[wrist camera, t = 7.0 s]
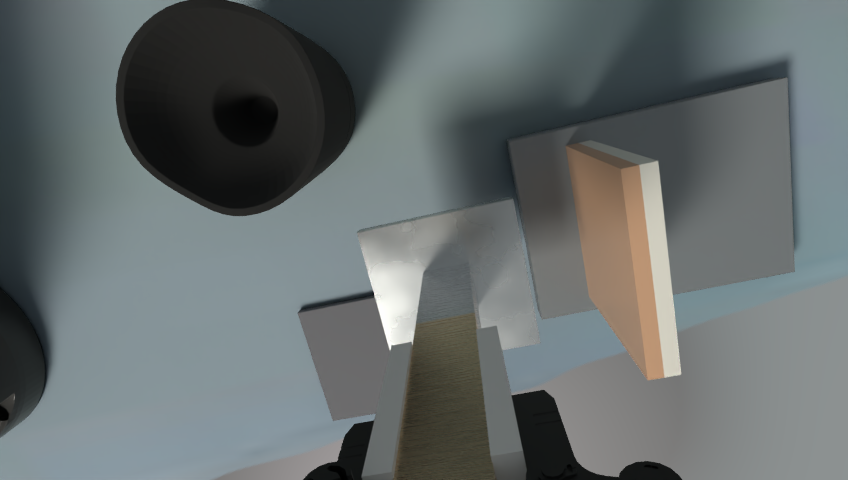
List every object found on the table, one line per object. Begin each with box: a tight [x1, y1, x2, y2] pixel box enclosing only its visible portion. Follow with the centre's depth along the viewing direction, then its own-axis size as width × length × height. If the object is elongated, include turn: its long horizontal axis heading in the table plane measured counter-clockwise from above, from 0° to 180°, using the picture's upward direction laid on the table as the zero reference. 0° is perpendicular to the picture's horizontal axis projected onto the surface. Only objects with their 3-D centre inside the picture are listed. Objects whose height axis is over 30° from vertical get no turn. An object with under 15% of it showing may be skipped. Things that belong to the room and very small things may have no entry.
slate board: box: [506, 78, 795, 319], centre depth 31 cm, size 16×12×2 cm
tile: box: [566, 140, 681, 380], centre depth 26 cm, size 2×10×10 cm, turn 13°
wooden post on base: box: [357, 197, 540, 480], centre depth 18 cm, size 8×8×18 cm
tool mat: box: [298, 295, 390, 421], centre depth 36 cm, size 11×9×1 cm
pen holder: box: [116, 0, 355, 216], centre depth 27 cm, size 9×9×10 cm
